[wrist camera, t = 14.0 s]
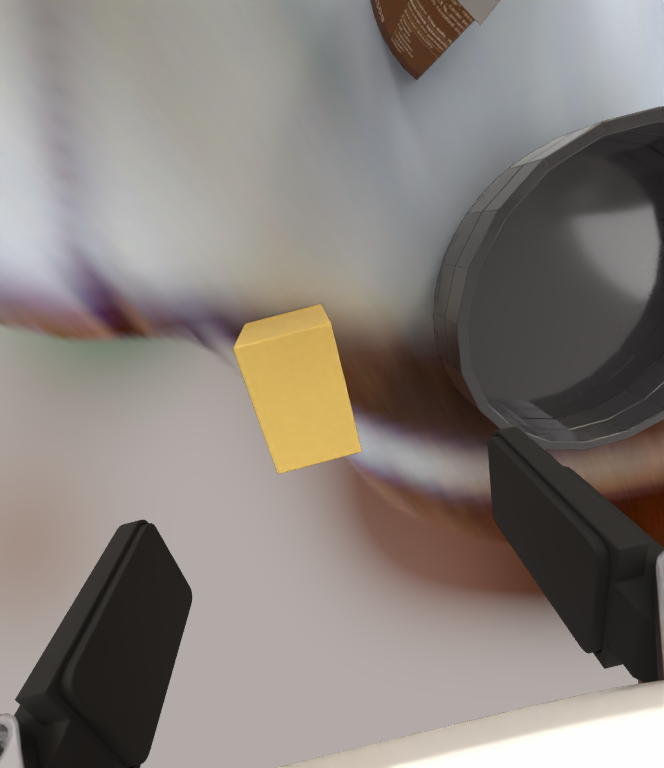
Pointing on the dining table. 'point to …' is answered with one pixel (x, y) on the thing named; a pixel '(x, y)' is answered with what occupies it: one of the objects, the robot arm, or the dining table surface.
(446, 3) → the food container
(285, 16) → the dining table surface
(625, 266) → the round cake pan
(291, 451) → the cheese
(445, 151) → the dining table surface
